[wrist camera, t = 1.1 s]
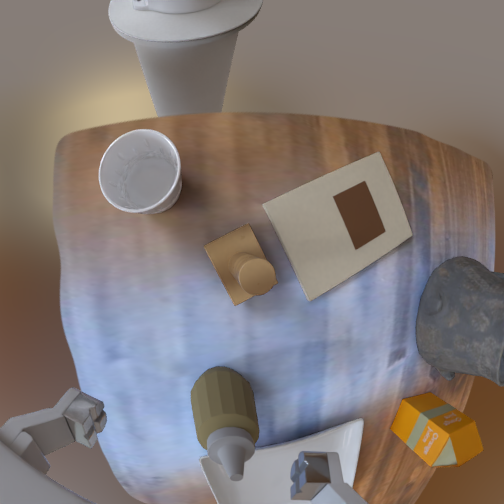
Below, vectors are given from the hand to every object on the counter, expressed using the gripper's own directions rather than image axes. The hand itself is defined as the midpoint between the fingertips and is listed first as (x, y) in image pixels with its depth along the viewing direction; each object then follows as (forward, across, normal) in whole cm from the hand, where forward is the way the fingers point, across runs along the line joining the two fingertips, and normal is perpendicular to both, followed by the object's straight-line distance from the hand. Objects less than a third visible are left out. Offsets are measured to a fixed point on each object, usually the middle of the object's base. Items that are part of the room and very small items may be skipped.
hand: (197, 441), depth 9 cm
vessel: (+34, -36, +6) cm, 50 cm away
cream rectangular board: (+32, -12, -6) cm, 34 cm away
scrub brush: (+27, +2, +1) cm, 27 cm away
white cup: (+26, +13, -6) cm, 30 cm away
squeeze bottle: (+23, 0, +18) cm, 29 cm away
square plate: (+21, -15, +39) cm, 47 cm away
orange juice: (+29, -38, +26) cm, 55 cm away
